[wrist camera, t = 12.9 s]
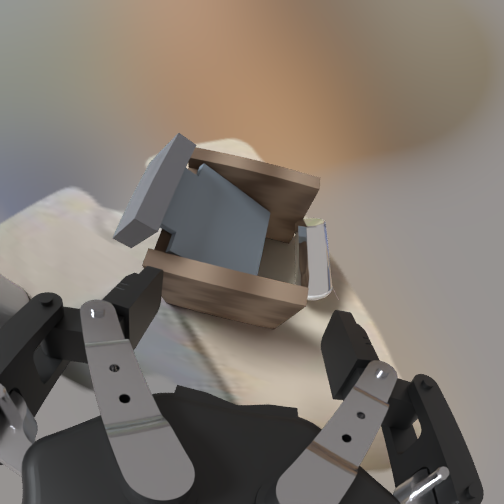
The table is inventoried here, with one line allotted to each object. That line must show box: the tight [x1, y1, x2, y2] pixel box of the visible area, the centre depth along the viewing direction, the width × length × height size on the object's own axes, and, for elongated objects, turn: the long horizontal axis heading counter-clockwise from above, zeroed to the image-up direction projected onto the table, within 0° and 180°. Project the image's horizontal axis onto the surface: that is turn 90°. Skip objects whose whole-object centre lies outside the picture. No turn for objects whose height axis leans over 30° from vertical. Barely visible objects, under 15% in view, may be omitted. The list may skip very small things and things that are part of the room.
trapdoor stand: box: [142, 148, 320, 329], centre depth 29 cm, size 13×13×12 cm
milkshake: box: [295, 218, 339, 300], centre depth 31 cm, size 4×5×10 cm
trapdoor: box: [113, 133, 270, 276], centre depth 26 cm, size 13×9×6 cm
